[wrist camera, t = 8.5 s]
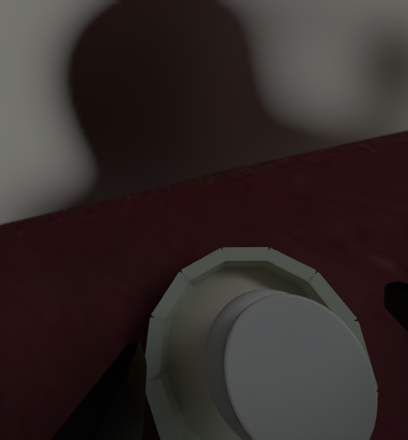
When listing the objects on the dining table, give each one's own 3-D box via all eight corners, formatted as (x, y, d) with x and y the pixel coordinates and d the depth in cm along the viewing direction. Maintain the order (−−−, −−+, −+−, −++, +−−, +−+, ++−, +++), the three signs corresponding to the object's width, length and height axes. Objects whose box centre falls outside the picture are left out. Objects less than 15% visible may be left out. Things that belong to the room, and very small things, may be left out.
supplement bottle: (236, 292, 16) (253, 240, 8) (307, 338, 14) (431, 338, 6) (195, 363, 14) (156, 400, 6) (271, 426, 12) (378, 615, 4)
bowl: (310, 558, 11) (333, 615, 8) (118, 385, 15) (99, 393, 12) (370, 313, 16) (395, 309, 13) (214, 233, 20) (213, 219, 17)
